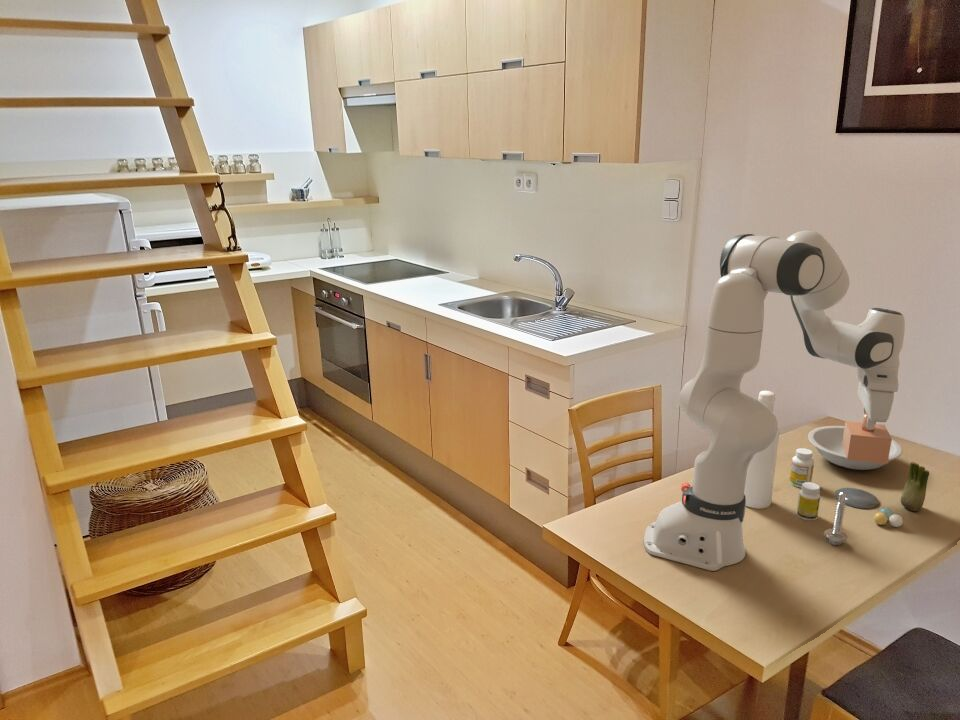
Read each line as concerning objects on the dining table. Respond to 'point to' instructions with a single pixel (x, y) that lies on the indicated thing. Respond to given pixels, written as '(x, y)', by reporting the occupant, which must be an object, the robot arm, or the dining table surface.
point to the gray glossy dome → (858, 498)
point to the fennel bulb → (915, 487)
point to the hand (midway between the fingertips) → (868, 425)
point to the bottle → (762, 466)
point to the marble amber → (880, 518)
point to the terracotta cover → (866, 442)
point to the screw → (837, 523)
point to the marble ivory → (895, 520)
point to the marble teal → (886, 512)
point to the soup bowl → (832, 450)
